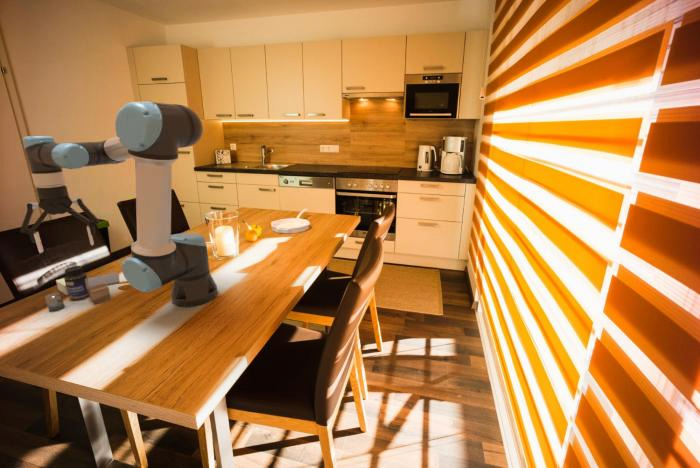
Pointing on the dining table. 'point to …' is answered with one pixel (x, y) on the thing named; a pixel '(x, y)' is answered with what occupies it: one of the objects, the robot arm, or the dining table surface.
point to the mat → (104, 279)
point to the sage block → (62, 286)
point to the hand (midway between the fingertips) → (67, 247)
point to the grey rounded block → (54, 302)
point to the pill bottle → (76, 283)
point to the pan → (291, 225)
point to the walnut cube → (99, 293)
